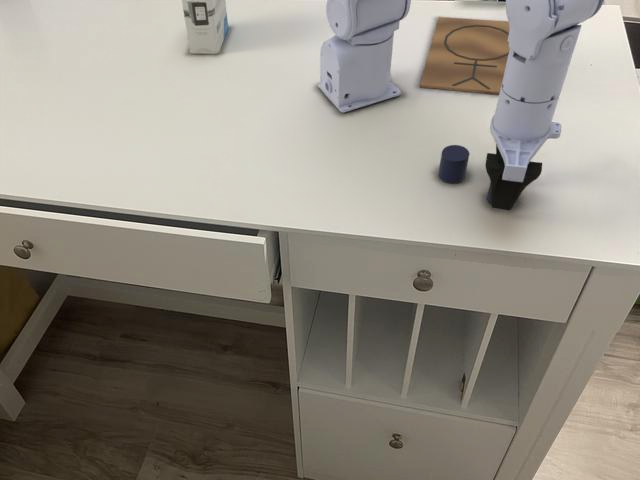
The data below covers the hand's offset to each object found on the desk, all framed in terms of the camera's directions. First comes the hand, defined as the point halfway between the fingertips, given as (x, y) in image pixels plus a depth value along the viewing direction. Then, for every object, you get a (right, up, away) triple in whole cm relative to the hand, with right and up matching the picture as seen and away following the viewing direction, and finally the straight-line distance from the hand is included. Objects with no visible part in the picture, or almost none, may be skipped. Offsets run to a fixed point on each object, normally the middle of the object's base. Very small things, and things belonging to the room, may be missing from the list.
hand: (503, 190), depth 78 cm
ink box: (-36, +30, +32) cm, 56 cm away
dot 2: (0, -1, +1) cm, 1 cm away
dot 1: (-5, +3, +5) cm, 7 cm away
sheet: (+5, +24, +22) cm, 33 cm away
